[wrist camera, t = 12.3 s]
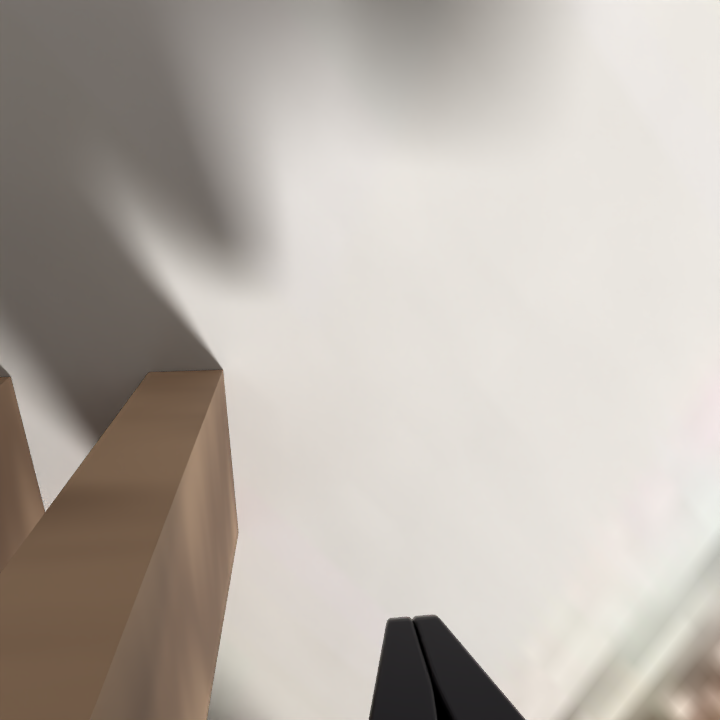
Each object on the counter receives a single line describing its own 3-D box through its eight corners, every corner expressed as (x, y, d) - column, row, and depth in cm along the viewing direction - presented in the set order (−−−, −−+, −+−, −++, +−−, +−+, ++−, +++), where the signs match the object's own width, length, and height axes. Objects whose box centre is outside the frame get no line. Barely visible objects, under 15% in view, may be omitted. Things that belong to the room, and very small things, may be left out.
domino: (238, 532, 15) (130, 1169, 5) (173, 536, 14) (-57, 1206, 5) (222, 369, 13) (20, 900, 4) (148, 372, 13) (-268, 938, 3)
